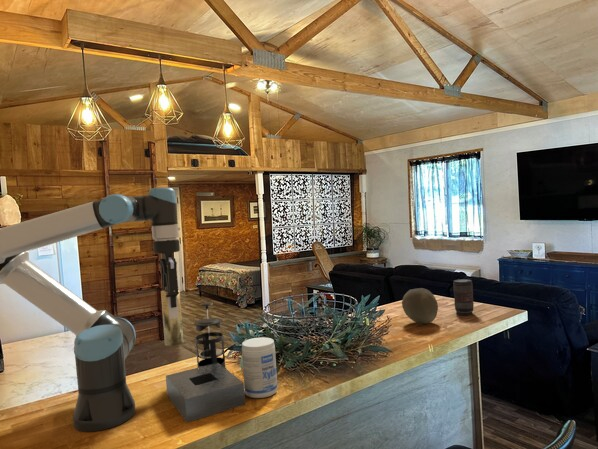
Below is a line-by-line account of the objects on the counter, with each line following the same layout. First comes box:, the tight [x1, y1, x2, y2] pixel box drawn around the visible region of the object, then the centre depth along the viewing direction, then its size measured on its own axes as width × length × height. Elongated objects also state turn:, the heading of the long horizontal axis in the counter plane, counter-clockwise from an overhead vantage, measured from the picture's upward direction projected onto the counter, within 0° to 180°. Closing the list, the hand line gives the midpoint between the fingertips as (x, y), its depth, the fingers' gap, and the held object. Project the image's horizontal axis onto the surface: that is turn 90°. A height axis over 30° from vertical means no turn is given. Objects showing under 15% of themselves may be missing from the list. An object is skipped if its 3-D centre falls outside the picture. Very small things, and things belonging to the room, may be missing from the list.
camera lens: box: [452, 278, 475, 317], centre depth 193 cm, size 8×8×15 cm
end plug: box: [160, 287, 184, 347], centre depth 131 cm, size 5×5×17 cm
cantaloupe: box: [401, 287, 439, 325], centre depth 182 cm, size 14×14×15 cm
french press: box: [194, 302, 227, 369], centre depth 143 cm, size 12×9×23 cm
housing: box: [165, 363, 246, 423], centre depth 122 cm, size 16×20×6 cm
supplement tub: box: [241, 336, 278, 399], centre depth 124 cm, size 10×10×15 cm
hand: (171, 315), depth 131 cm, fingers closed on end plug, 5 cm apart
